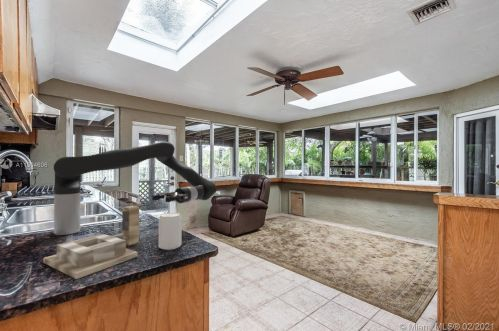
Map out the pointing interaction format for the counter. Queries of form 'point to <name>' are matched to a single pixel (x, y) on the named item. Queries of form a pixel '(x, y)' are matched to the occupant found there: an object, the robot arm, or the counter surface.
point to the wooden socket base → (89, 255)
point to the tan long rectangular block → (130, 224)
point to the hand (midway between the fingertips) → (159, 198)
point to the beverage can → (170, 231)
